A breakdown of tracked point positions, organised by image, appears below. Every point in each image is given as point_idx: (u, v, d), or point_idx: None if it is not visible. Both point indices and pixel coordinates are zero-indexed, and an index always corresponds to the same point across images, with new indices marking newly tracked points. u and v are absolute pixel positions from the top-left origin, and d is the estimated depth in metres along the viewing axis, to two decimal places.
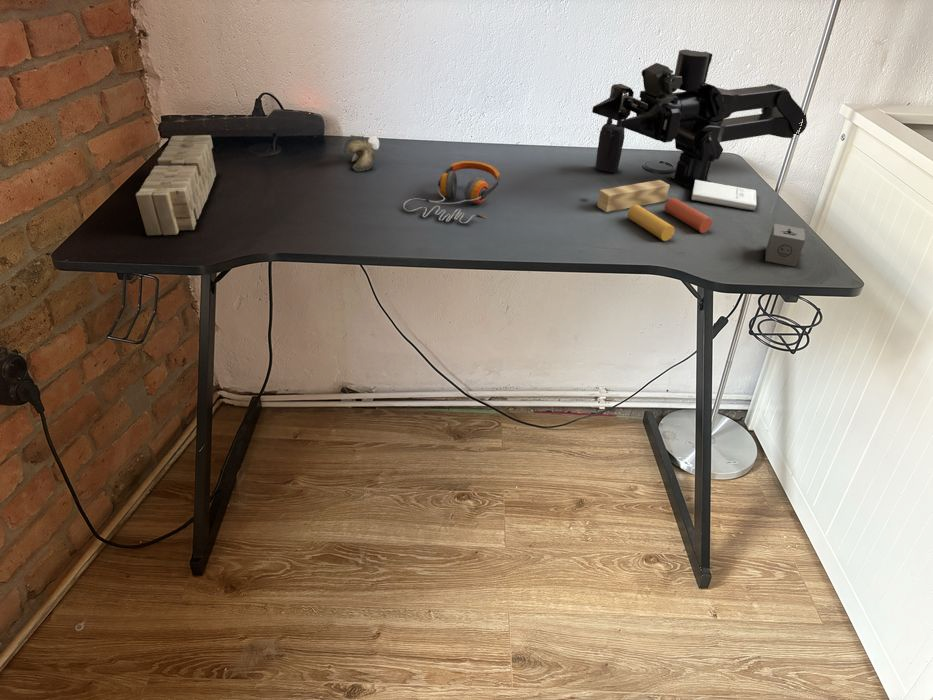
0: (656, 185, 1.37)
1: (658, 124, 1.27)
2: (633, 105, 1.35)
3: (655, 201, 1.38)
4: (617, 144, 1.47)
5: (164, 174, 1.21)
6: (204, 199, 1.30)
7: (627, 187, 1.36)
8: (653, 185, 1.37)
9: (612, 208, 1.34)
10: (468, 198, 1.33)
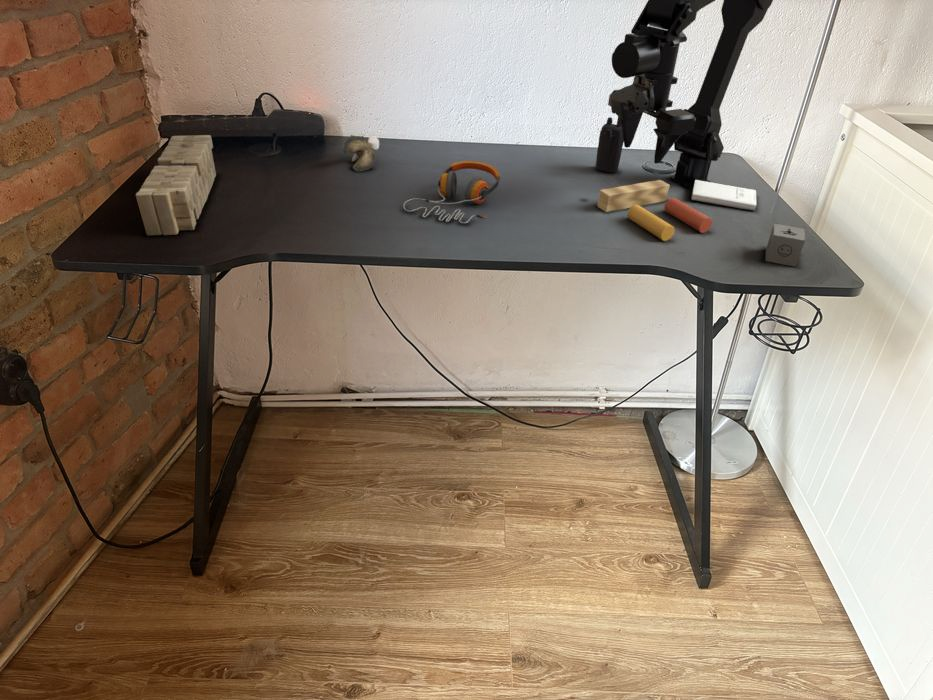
0: (656, 185, 1.37)
1: None
2: None
3: (655, 201, 1.38)
4: (617, 144, 1.47)
5: (164, 174, 1.21)
6: (204, 199, 1.30)
7: (627, 187, 1.36)
8: (653, 185, 1.37)
9: (612, 208, 1.34)
10: (468, 198, 1.33)
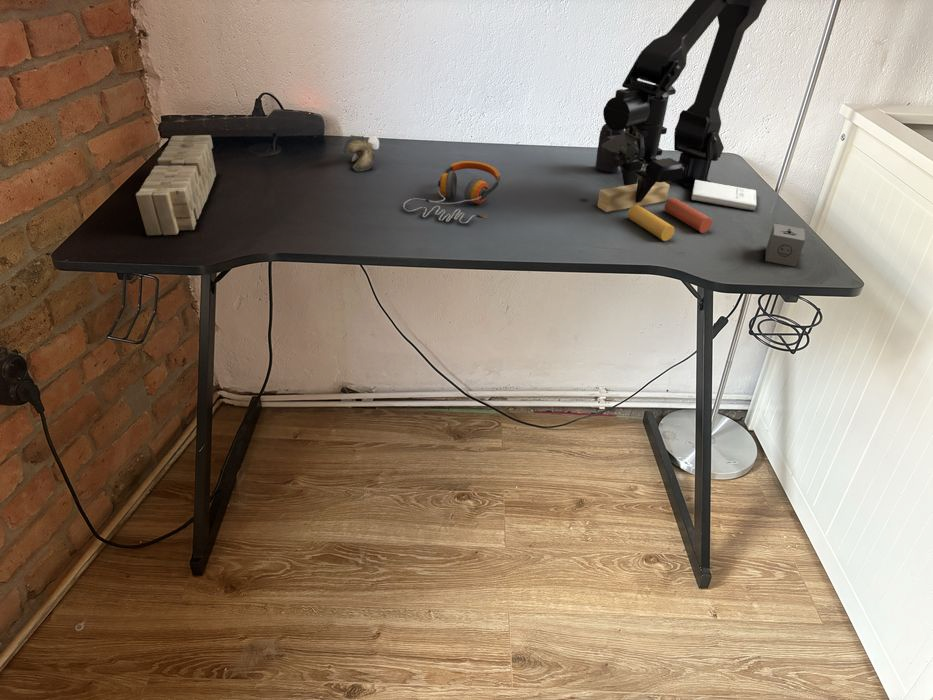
0: (656, 185, 1.37)
1: None
2: None
3: (655, 201, 1.38)
4: None
5: (164, 174, 1.21)
6: (204, 199, 1.30)
7: (627, 187, 1.36)
8: (653, 185, 1.37)
9: (612, 208, 1.34)
10: (468, 198, 1.33)
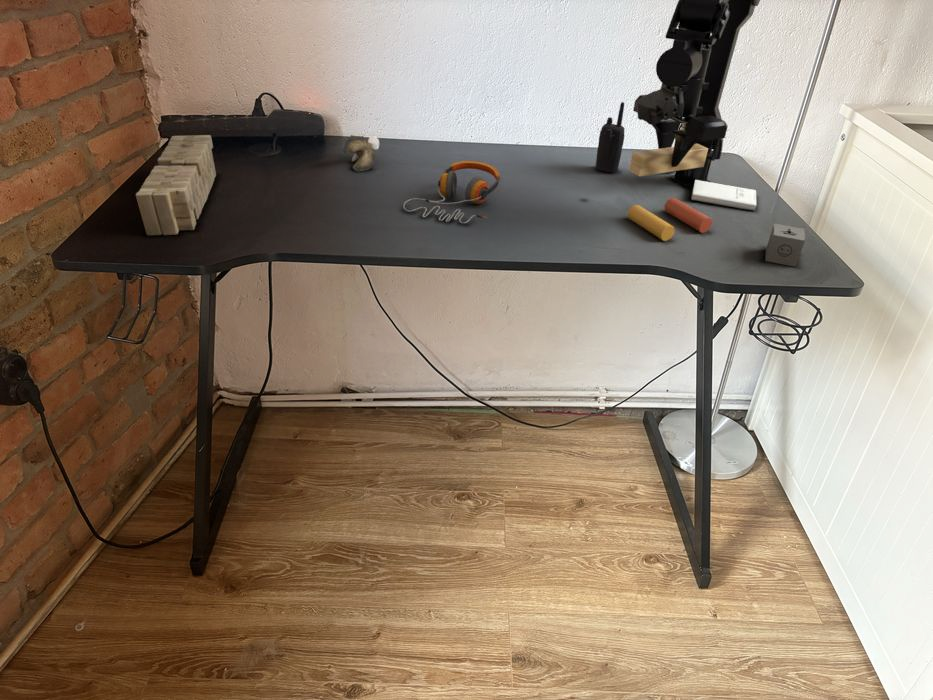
0: (693, 149, 1.25)
1: None
2: None
3: (692, 166, 1.27)
4: (617, 144, 1.47)
5: (164, 174, 1.21)
6: (204, 199, 1.30)
7: (662, 150, 1.24)
8: None
9: (646, 172, 1.23)
10: (468, 198, 1.33)
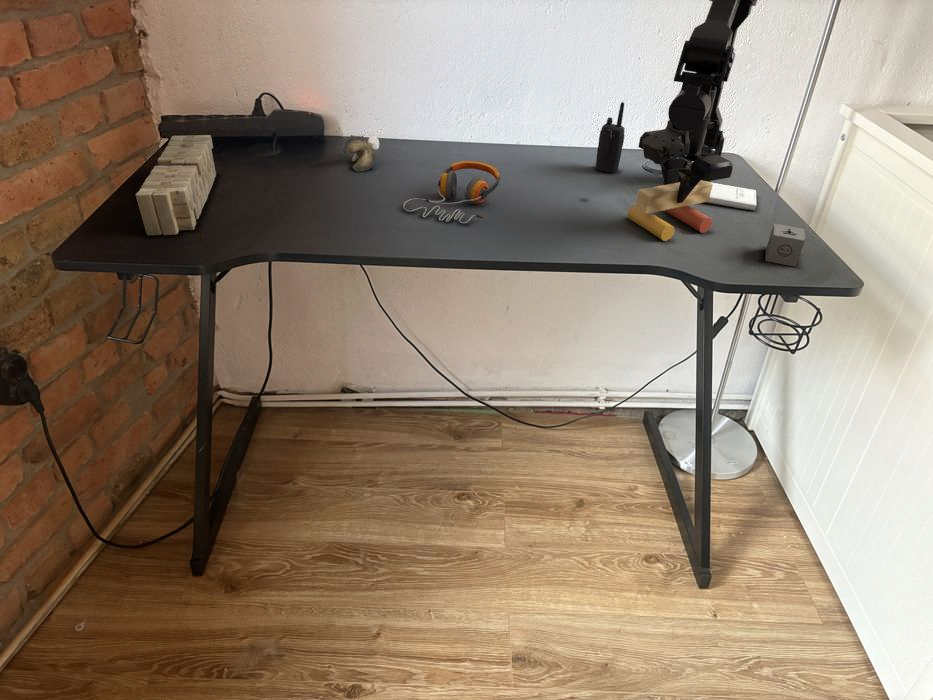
0: (698, 184, 1.27)
1: None
2: None
3: (697, 201, 1.28)
4: (617, 144, 1.47)
5: (164, 174, 1.21)
6: (204, 199, 1.30)
7: (668, 186, 1.25)
8: None
9: (652, 210, 1.24)
10: (468, 198, 1.33)
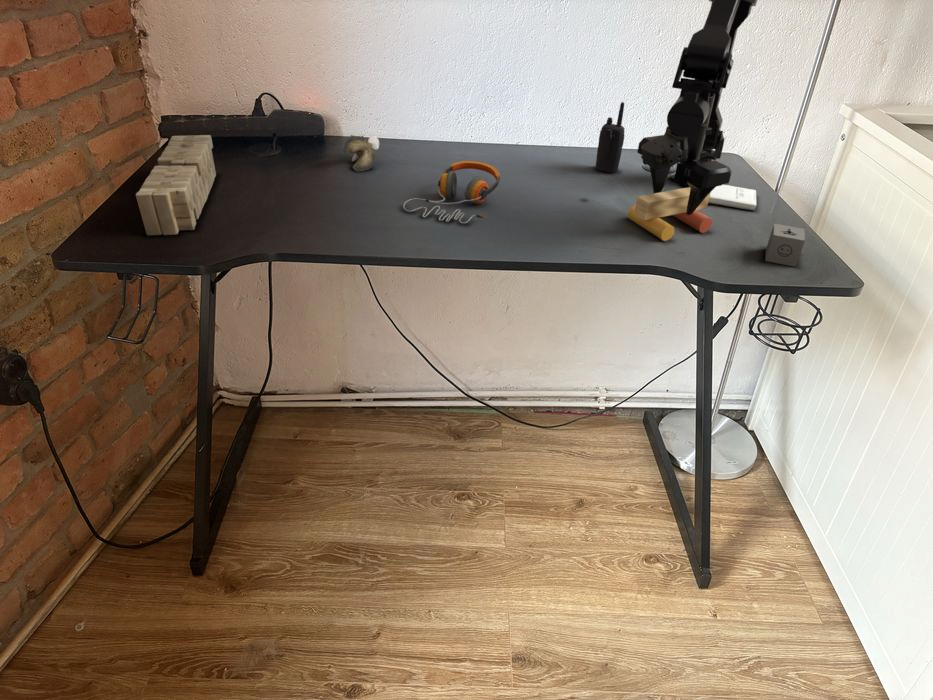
0: None
1: None
2: None
3: None
4: (617, 144, 1.47)
5: (164, 174, 1.21)
6: (204, 199, 1.30)
7: (666, 193, 1.26)
8: None
9: (651, 216, 1.25)
10: (468, 198, 1.33)
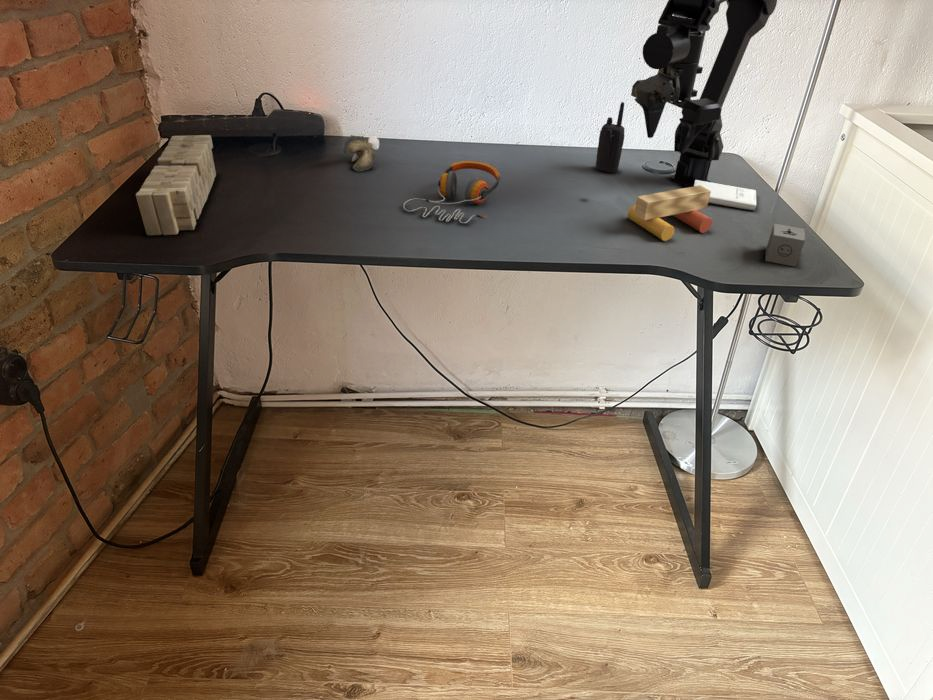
0: (696, 191, 1.27)
1: None
2: None
3: (695, 208, 1.29)
4: (617, 144, 1.47)
5: (164, 174, 1.21)
6: (204, 199, 1.30)
7: (666, 193, 1.26)
8: (694, 191, 1.27)
9: (651, 216, 1.25)
10: (468, 198, 1.33)
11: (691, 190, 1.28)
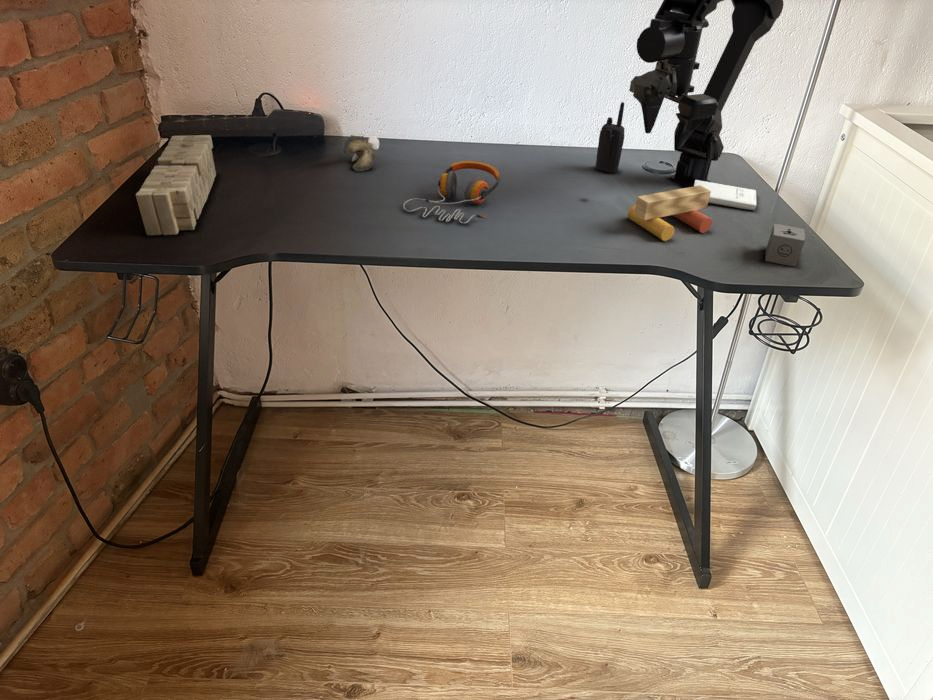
0: (696, 191, 1.27)
1: None
2: None
3: (695, 208, 1.29)
4: (617, 144, 1.47)
5: (164, 174, 1.21)
6: (204, 199, 1.30)
7: (666, 193, 1.26)
8: (694, 191, 1.27)
9: (651, 216, 1.25)
10: (468, 198, 1.33)
11: (691, 190, 1.28)
